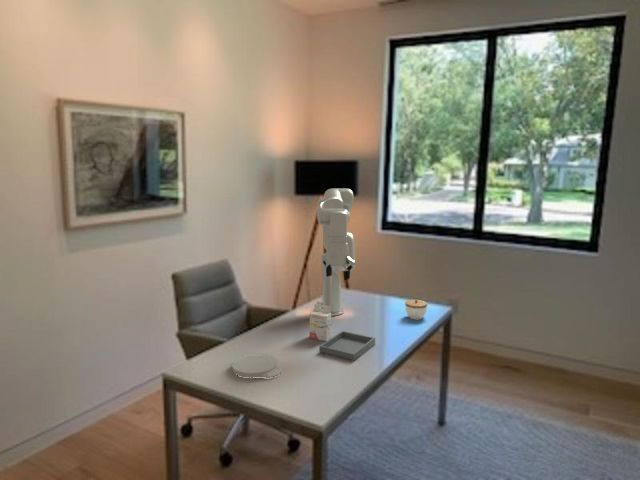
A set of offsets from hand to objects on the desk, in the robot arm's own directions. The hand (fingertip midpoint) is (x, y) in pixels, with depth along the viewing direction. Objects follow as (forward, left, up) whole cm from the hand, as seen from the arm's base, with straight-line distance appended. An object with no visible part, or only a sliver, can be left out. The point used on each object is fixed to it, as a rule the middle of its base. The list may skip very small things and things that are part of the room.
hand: (337, 277), depth 212 cm
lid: (-10, -45, -28) cm, 54 cm away
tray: (+10, -9, -27) cm, 31 cm away
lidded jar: (+21, +43, -28) cm, 55 cm away
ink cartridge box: (-6, -5, -28) cm, 29 cm away
